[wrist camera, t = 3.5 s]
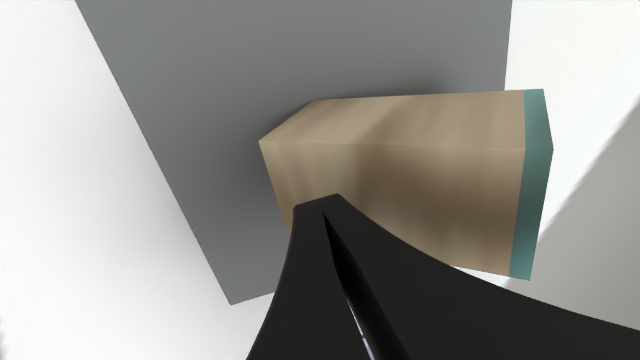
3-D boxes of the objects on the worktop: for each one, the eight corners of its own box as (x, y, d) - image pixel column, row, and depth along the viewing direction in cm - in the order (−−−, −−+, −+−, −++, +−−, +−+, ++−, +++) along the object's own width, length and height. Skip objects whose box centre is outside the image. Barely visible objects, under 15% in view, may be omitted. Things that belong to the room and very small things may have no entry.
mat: (486, 219, 20) (492, 224, 19) (230, 298, 18) (230, 305, 18) (513, -124, 12) (523, -129, 11) (66, -30, 10) (58, -32, 10)
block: (330, 180, 15) (526, 197, 12) (287, 233, 13) (529, 280, 9) (314, 99, 14) (543, 88, 10) (258, 141, 11) (553, 149, 7)
